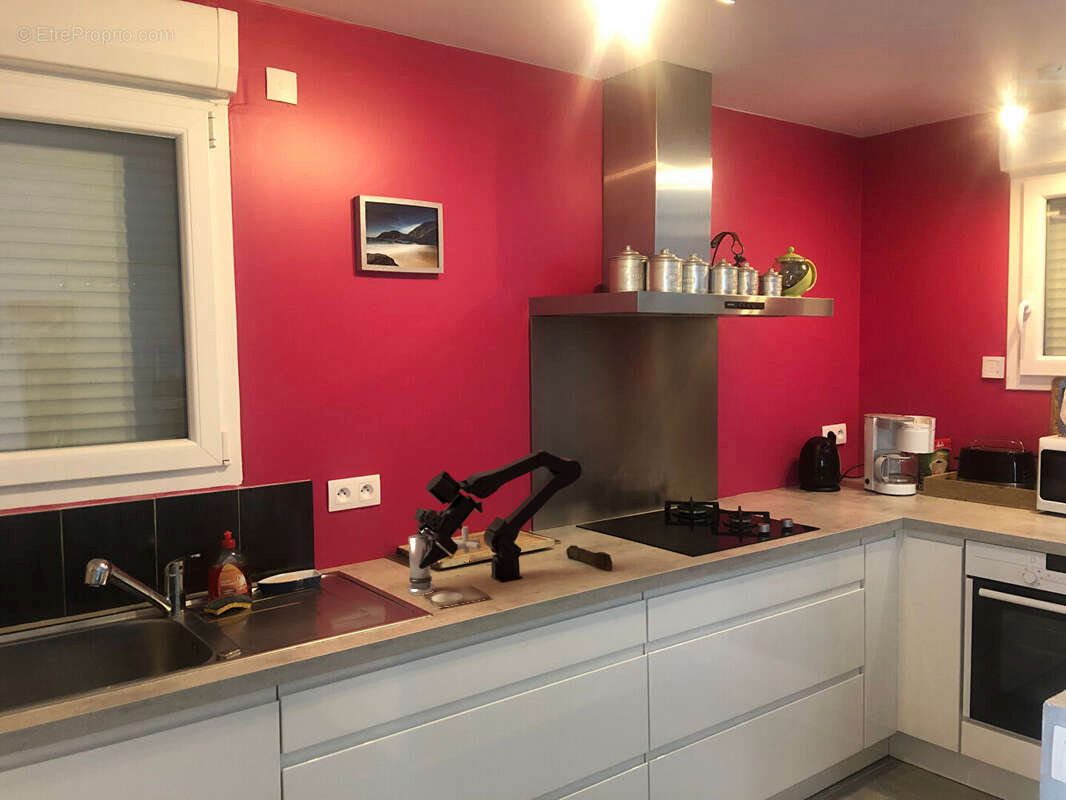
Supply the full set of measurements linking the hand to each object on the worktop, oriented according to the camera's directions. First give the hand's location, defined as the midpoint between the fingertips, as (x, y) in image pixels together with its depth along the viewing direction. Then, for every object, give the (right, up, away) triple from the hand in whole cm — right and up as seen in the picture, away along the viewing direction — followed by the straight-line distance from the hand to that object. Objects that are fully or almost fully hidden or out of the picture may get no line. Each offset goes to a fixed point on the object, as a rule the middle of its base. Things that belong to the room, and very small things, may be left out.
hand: (415, 563), depth 215 cm
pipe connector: (+11, -5, +28) cm, 31 cm away
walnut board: (+11, -7, -6) cm, 15 cm away
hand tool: (+46, -4, +20) cm, 50 cm away
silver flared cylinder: (+1, -7, +1) cm, 7 cm away
